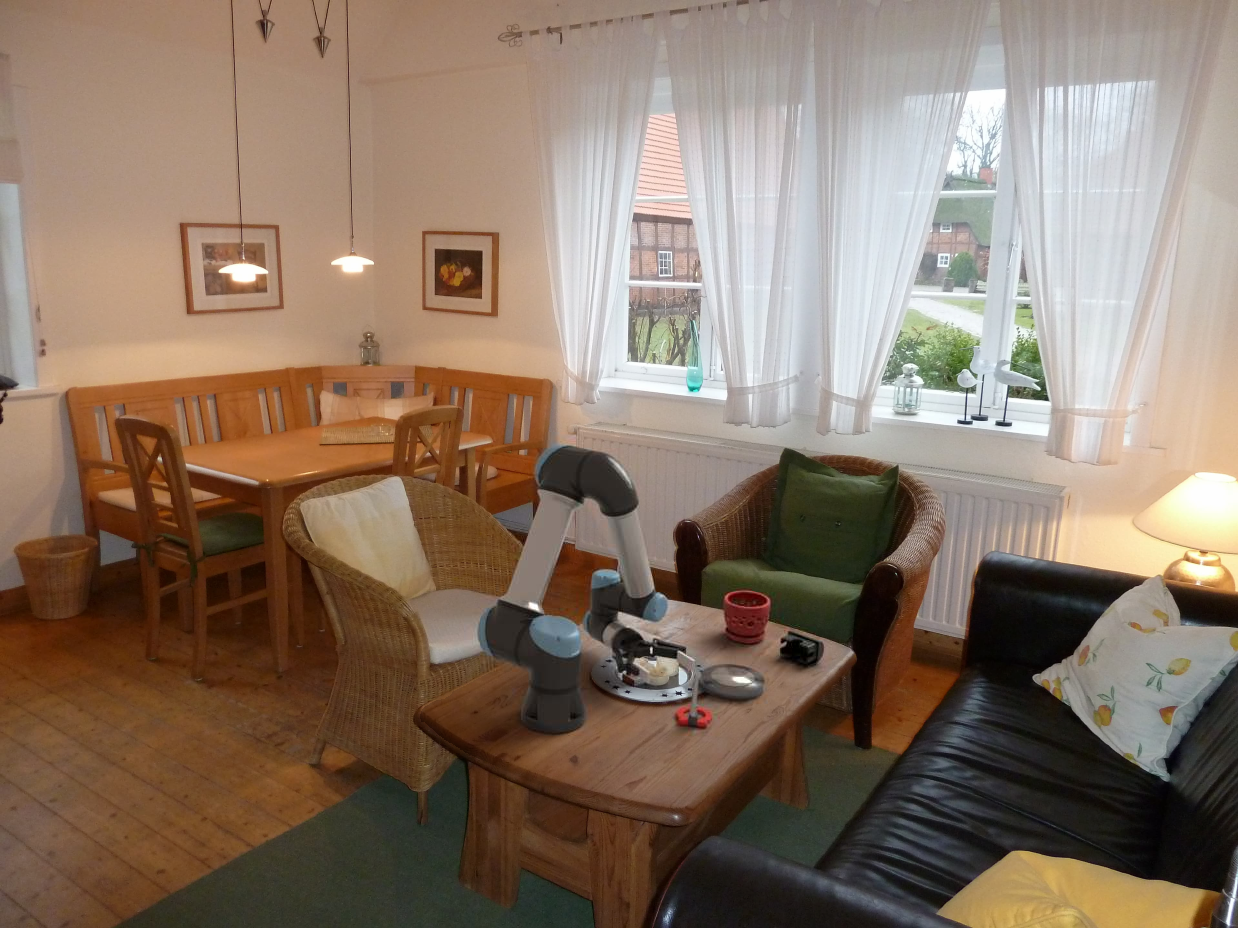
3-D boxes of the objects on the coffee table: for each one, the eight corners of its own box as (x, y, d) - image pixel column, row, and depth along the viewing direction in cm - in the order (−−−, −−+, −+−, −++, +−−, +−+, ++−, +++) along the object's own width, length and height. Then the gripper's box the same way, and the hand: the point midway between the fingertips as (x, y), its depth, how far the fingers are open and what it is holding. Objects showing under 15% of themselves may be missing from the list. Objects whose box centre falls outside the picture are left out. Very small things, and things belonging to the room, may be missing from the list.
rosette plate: (705, 700, 237) (705, 689, 237) (696, 672, 253) (697, 662, 252) (769, 701, 238) (770, 690, 238) (757, 673, 254) (757, 663, 253)
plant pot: (717, 628, 283) (719, 590, 280) (761, 628, 284) (764, 590, 282) (726, 646, 270) (729, 606, 267) (772, 646, 272) (776, 606, 269)
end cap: (823, 662, 263) (825, 638, 261) (808, 669, 258) (810, 645, 256) (792, 650, 270) (794, 627, 268) (777, 657, 265) (779, 634, 263)
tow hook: (677, 708, 233) (674, 725, 224) (681, 658, 231) (677, 672, 222) (712, 712, 232) (710, 729, 223) (716, 661, 230) (714, 676, 221)
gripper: (661, 644, 259) (711, 674, 242) (582, 663, 246) (628, 697, 229) (663, 618, 258) (712, 646, 240) (582, 636, 244) (629, 667, 227)
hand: (671, 671), depth 235 cm, fingers open, 13 cm apart
